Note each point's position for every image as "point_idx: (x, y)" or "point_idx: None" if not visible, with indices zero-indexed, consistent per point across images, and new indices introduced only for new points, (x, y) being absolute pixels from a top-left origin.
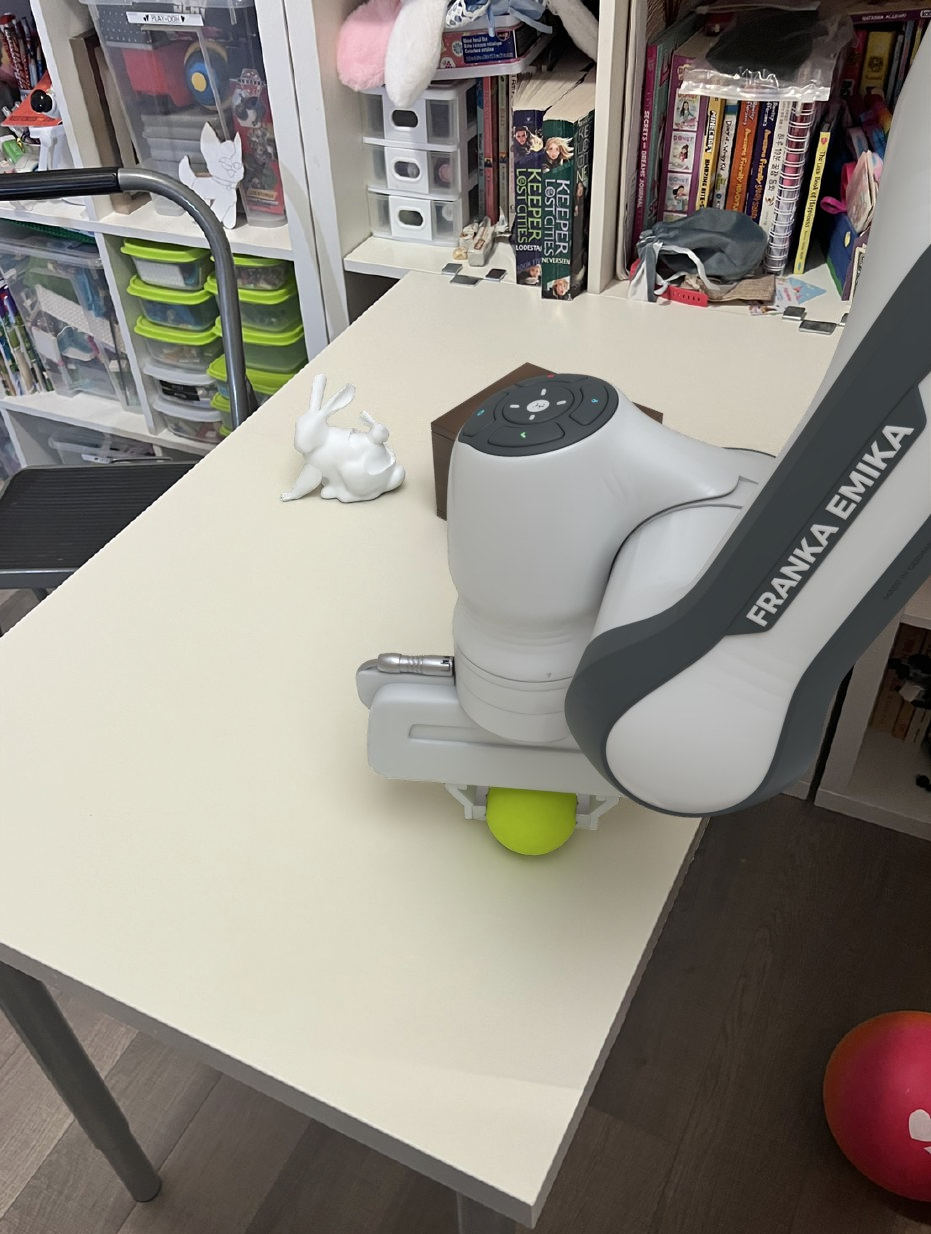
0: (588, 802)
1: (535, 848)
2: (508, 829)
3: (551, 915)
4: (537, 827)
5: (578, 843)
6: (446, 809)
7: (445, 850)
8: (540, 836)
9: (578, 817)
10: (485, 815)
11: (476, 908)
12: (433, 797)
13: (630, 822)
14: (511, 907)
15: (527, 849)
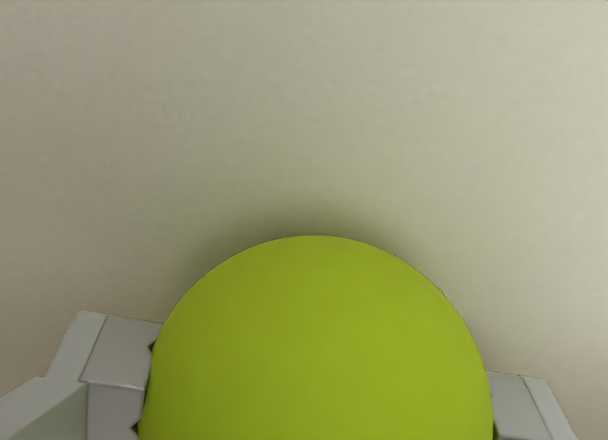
0: (91, 427)
1: (325, 257)
2: (440, 346)
3: (283, 5)
4: (320, 352)
5: (168, 266)
6: None
7: (572, 273)
8: (306, 307)
9: (136, 372)
10: None
11: (544, 60)
12: None
13: (11, 317)
14: (421, 53)
15: (355, 255)
